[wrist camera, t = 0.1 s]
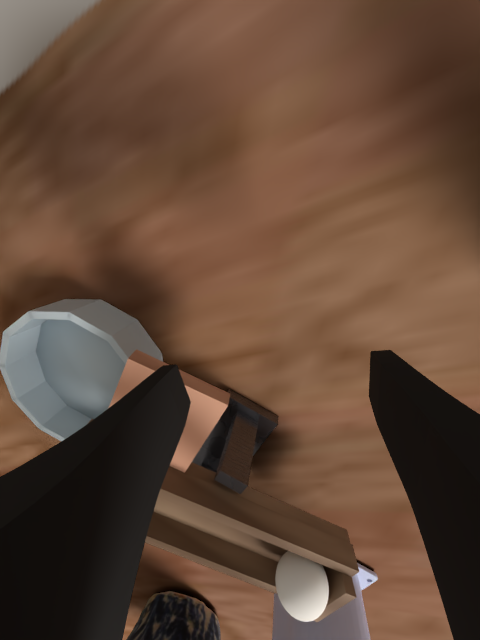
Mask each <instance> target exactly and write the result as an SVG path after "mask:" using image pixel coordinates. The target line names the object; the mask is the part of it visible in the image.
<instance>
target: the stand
mask: <svg viewBox="0 0 480 640" xmlns="http://www.w3.org/2000/svg"><path fill="white" fill-rule="evenodd" d="M227 392H228V393H230V399H229V404H228V407H227V408H226V410H225V411H224V413H223V414H222V416H221V417H220V419H219V420H218V422H217V424H216V425H215V427H214V428H213V430H212V431H211V433H210V434H209V436H208V437H207V439H206V441H205V442H204V444H203V445H202V447H201V448H200V450H199V451H198V453H197V454H196V456H195V458H194V459H193V461H192V463H195V464H197V465H199V466H202V467H204V468H206V469H209V470H211V471H213V472H215V473H216V475H215V478H214V480H216V481H217V482H219V483H221V484H223V485H225V486H226V487H228V488H230V489H232V490H234V491H235V492H237V493H239V494H241V493H242V492H243V491H244V490H245V489H246V487H247V486H248V481H249V475H250V469H251V463H252V457H253V455H254V454H255V453H256V452H257V450H258V449H259V448H260V446H261V445H262V444H263V443H264V441H265V440H266V439H267V438H268V436H269V435H270V434H271V432H272V431H273V430H274V429H275V427H276V426H277V425H278V416H277V415H275V414H273V413H271V412H270V411H268V410H266V409H264V408H263V407H261V406H259V405H257V404H255V403H254V402H252V401H250V400H248V399H246V398H245V397H243V396H241V395H239V394H237V393H236V392H234V391H232V390H230V389H228V391H227Z"/></svg>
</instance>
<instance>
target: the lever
mask: <svg viewBox="0 0 480 640" xmlns="http://www.w3.org/2000/svg"><path fill="white" fill-rule="evenodd" d="M163 365H169V364H167V363H164V362H162V361H160V360H158V359H156V358H154V357H152V356H150V355H148V354H146V353H143V352H141V351H139V350H137V349H136V350H135V351H134V352H133V353H132V355H131V356H130V357H129V358H128V360H127V362H126V365H125V367H124V370H123V372H122V375H121V377H120V380H119V383H118V385H117V388H116V390H115V393H114V395H113V398H112V400H111V403H110V406H109V408H110V407H111V406H112V405H114V404H115V403H116V402H117V401H119V400H120V399H121V398H122V397H124V396H125V395H126V394H127V393H129V392H130V391H131V390H132V389H134V388H135V387H136V386H137V385H138V384H140V383H141V382H142V381H143V380H145V379H146V378H147V377H148V376H150V375H151V374H152V373H153V372H155V371H156V370H157V369H159V368H160V367H162V366H163ZM179 371H180V374H181V377H182V379H183V382H184V385H185V388H186V390H187V393H188V396H189V398H190V401H191V404H190V408H189V413H188V417H187V421H186V424H185V427H184V430H183V433H182V435H181V438H180V441H179V443H178V446H177V448H176V451H175V453H174V456H173V458H172V461H171V463H170V466H169V468H168V471H167V473H166V476H165V478H164V481H163V483H162V486H161V489H160V492H159V495H158V498H157V501H156V505H155V508H154V511H153V515H152V518H151V522H150V525H149V529H148V532H147V536H146V540H145V543H148V544H150V545H153V546H155V547H158V548H160V549H163V550H166V551H168V552H171V553H173V554H176V555H178V556H181V557H183V558H186V559H189V560H191V561H194V562H196V563H199V564H201V565H204V566H206V567H209V568H211V569H214V570H217V571H219V572H222V573H224V574H227V575H229V576H232V577H234V578H237V579H240V580H242V581H245V582H247V583H250V584H252V585H255V586H257V587H260V588H263V589H265V590H268V591H270V592H273V593H275V594H278V593H277V589H276V582H275V575H276V569H277V565H278V563H279V560H280V559H281V557H282V556H283V555H284V554H285V553H286V552H287V551H290V552H293V553H295V554H297V555H300V556H302V557H305V558H307V559H310V560H312V561H314V562H317V563H319V564H322V566H323V568H324V570H325V572H326V576H327V580H328V586H329V596H328V602H327V605H326V608H325V610H324V611H323V613H322V614H321V615H320V616H319V617H318V618H317V619H315V620H313V621H315V622H319V621H321V620H322V619H324V618H325V617H327V616H328V615H330V614H331V613H333V612H335V611H336V610H338V609H339V608H341V607H342V606H344V605H346V604H347V603H349V602H350V601H352V600H353V599H355V598H357V597H356V593H355V588H354V584H353V580H352V577H353V576H354V575H355V574H357V573H358V572H359V568H358V564H357V561H356V557H355V553H354V549H353V545H352V544H350V540H349V536H348V532H347V530H346V529H344V528H342V527H339V526H337V525H335V524H332V523H330V522H328V521H326V520H323V519H321V518H319V517H316V516H314V515H312V514H309V513H307V512H305V511H303V510H300V509H298V508H296V507H293V506H291V505H289V504H287V503H284V502H282V501H280V500H277V499H275V498H273V497H270V496H268V495H266V494H264V493H261V492H259V491H257V490H254V489H252V488H250V487H248V486H247V487H246V489H245V490H244V491H243V492H242V493H241V494H239V493H237V492H235V491H234V490H232V489H230V488H228V487H226V486H225V485H223V484H221V483H219V482H217V481H216V480H214V478H215V475H216V473H215V472H213V471H211V470H209V469H206V468H204V467H202V466H199V465H197V464H195V463H192V461H193V459H194V458H195V456H196V454H197V453H198V451H199V450H200V448H201V447H202V445H203V444H204V442H205V441H206V439H207V437H208V436H209V434H210V433H211V431H212V430H213V428H214V427H215V425H216V424H217V422H218V420H219V419H220V417H221V416H222V414H223V413H224V411H225V410H226V408H227V407H228V404H229V399H230V393H228V392H226V391H223V390H221V389H219V388H217V387H215V386H213V385H211V384H209V383H207V382H204V381H202V380H200V379H198V378H196V377H194V376H192V375H190V374H188V373H186V372H183V371H181V370H179ZM92 420H94V419H91V420H90V421H89V423H90V422H91V421H92Z"/></svg>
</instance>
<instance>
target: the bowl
mask: <svg viewBox="0 0 480 640" xmlns="http://www.w3.org/2000/svg"><path fill="white" fill-rule="evenodd" d="M136 349H137V350H139V351H141V352H143V353H146V354H148V355H150V356H152V357H154V358H156V359H158V360H160V361H162V362H163V357H162V353H161V351H160V350H159V348H158V347H157V346H156V344H155V343H154V342H153V340H152V339H151V337H150V336H149V335H148V333H147V332H146V331H145V329H144V328H143V327H142V325H141V324H140V322H139V321H138V320H137V319H135V318H134V317H132V316H130V315H128V314H126V313H125V312H123V311H121V310H119V309H117V308H116V307H114V306H112V305H110V304H109V303H107V302H105V301H103V300H102V299H64V300H61V301H58V302H55V303H51V304H48V305H45V306H42V307H39V308H36V309H33V310H30V311H28V312H27V313H26V314H24V315H23V316H22V317H21V318H19V319H18V320H17V321H16V322H15V323H13V324H12V325H11V326H10V327H8V328H7V329H6V330H5V331H3V336H2V343H1V350H0V370H1V372H2V375H3V377H4V380H5V382H6V385H7V388H8V390H9V393H10V395H11V398H12V400H13V401H14V402H15V403H16V404H17V405H18V406H19V408H20V409H21V410H22V411H23V412H24V413H25V414H26V415H27V416H28V417H29V418H30V420H31V421H32V422H33V423H34V424H35V425H36V426H37V427H38V428H39V429H40V430H42V431H44V432H45V433H47V434H49V435H51V436H53V437H54V438H56V439H58V440H60V441H63V440H65V439H66V438H68V437H69V436H71V435H72V434H74V433H75V432H77V431H78V430H80V429H81V428H83V427H84V426H85V425H87V424H88V423H89V421H90V420H91V419H95V418H96V417H98V416H99V415H100V414H102V413H103V412H104V411H106V410H107V409H108V408H109V406H110V403H111V400H112V398H113V395H114V393H115V390H116V388H117V385H118V383H119V380H120V377H121V375H122V372H123V370H124V367H125V365H126V362H127V360H128V358H129V357H130V356H131V355H132V353H133V352H134V351H135V350H136Z"/></svg>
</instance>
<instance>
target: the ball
mask: <svg viewBox="0 0 480 640" xmlns="http://www.w3.org/2000/svg"><path fill="white" fill-rule="evenodd" d="M275 582H276V589H277V593H278V597H279V599H280V601H281V603H282V605H283V607H284V608H285V610H286V611H287V612H288V613H289V614H290V615H291V616H292V617H294V618H295V619H297V620H300V621H304V622H309V621H313V620H315V619H317V618H318V617H319V616H320V615H321V614H322V613H323V611H324V610H325V608H326V605H327V602H328V596H329V586H328V580H327V576H326V572H325V570H324V568H323V566H322V564H319V563H317V562H314V561H312V560H310V559H307V558H305V557H302V556H300V555H297V554H295V553H293V552H290V551H287V552H286V553H285V554H284V555H283V556H282V557H281V559H280V560H279V563H278V565H277V569H276V575H275Z"/></svg>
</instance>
